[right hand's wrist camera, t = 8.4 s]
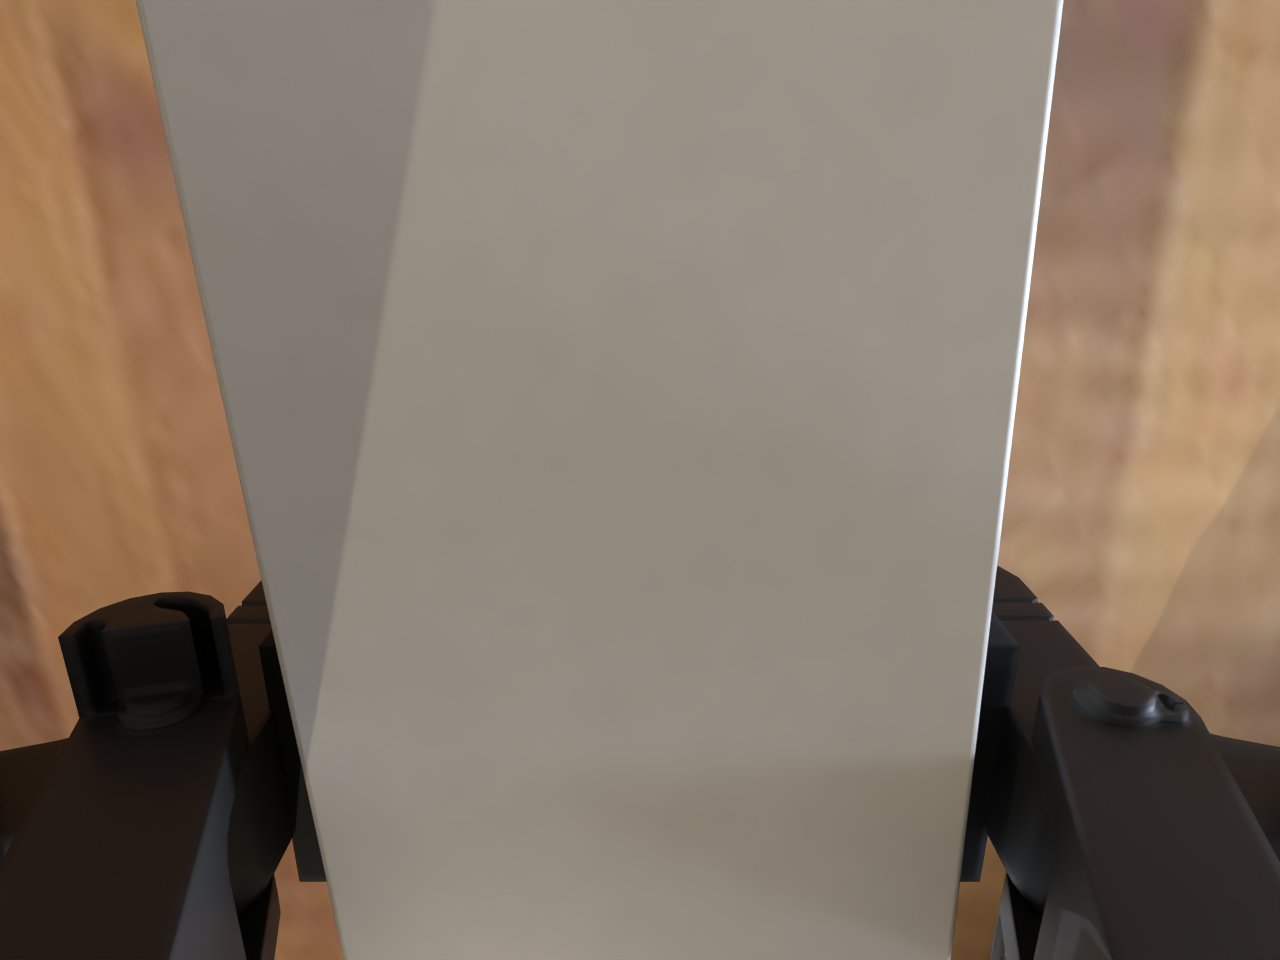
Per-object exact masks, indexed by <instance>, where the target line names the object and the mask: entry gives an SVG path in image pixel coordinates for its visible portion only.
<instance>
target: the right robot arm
mask: <svg viewBox="0 0 1280 960" xmlns="http://www.w3.org/2000/svg"><path fill="white" fill-rule="evenodd" d="M58 639H59V643H60V646H61V650H62V654H63V658H64V661H65V665H66V669H67V673H68V676H69V680H70V684H71V688H72V691H73V695H74V699H75V703H76V706H77V710H78V714H79V720H78V722H77V724H76V726H75V728H74V729H73V731H72V733H71V735H70V737H69V738H66V739H62V740H58V741H53V742H48V743H43V744H37V745H32V746H26V747H21V748H16V749H10V750H5V751H0V960H274V957H275V949H276V942H277V935H278V927H279V920H280V905H279V898H278V892H277V887H276V881H275V876H274V872H275V870H276V868H277V866H278V864H279V862H280V860H281V859H282V857H283V855H284V853H285V851H286V849H287V847H288V845H289V843H290V841H291V839H292V840H293V846H294V852H295V858H296V863H297V869H298V875H299V880H300V882H327V879H326V875H325V870H324V865H323V861H322V856H321V852H320V847H319V842H318V838H317V833H316V829H315V824H314V819H313V815H312V810H311V805H310V801H309V796H308V792H307V787H306V782H305V778H304V773H303V769H302V764H301V759H300V755H299V750H298V746H297V741H296V736H295V732H294V727H293V723H292V718H291V713H290V709H289V704H288V699H287V695H286V690H285V686H284V681H283V676H282V672H281V667H280V663H279V658H278V653H277V649H276V644H275V640H274V635H273V630H272V626H271V621H270V617H269V612H268V607H267V603H266V598H265V593H264V589H263V584H262V580H261V581H260V582H259V583H258V585H257V586H256V587H255V588H254V589H253V590H252V591H251V592H250V593H249V595H248V596H247V597H246V598H245V599H244V600H243V601H242V606H238V607H237V608H236V609H235V610H234V611H233V612H232V613H231V615H230V616H229V617H228V618H227V619H226V615H225V610H224V604H222V603H221V602H219V601H218V600H216V599H215V598H213V597H212V596H209V595H204V594H198V593H193V592H167V593H157V594H151V595H146V596H141V597H135V598H130V599H127V600H124V601H121V602H118V603H115V604H112V605H109V606H106V607H103V608H100V609H98V610H96V611H94V612H92V613H90V614H89V615H87V616H85V617H83V618H81V619H79V620H77V621H75V622H74V623H73V624H72V625H71V626H69V627H68V628H67V629H66V630H65V631H64V632H63V633H62V634H61V635H60V636H59V637H58ZM987 836H989V838H990V840H991V842H992V844H993V846H994V848H995V850H996V852H997V853H998V855H999V857H1000V859H1001V861H1002V863H1003V865H1004V867H1005V869H1006V876H1005V881H1004V887H1003V892H1002V897H1001V903H1000V908H999V913H998V919H997V924H996V929H995V935H994V940H993V945H992V951H991V957H990V960H1280V747H1275V746H1270V745H1264V744H1259V743H1254V742H1248V741H1243V740H1237V739H1232V738H1227V737H1222V736H1218V735H1213V734H1210V733H1209V732H1208V730H1207V728H1206V726H1205V724H1204V722H1203V721H1202V719H1201V717H1200V716H1199V715H1198V714H1197V712H1196V711H1195V710H1194V709H1193V708H1192V707H1191V706H1190V704H1189V703H1188V702H1187V701H1186V700H1185V699H1183V698H1181V697H1180V696H1178V695H1177V694H1175V693H1174V692H1172V691H1170V690H1169V689H1167V688H1166V687H1164V686H1163V685H1160V684H1158V683H1155V682H1153V681H1150V680H1148V679H1145V678H1143V677H1140V676H1138V675H1135V674H1133V673H1128V672H1124V671H1119V670H1115V669H1110V668H1106V667H1099V665H1098V664H1097V663H1096V662H1095V661H1094V660H1093V659H1092V658H1091V657H1090V656H1089V654H1088V653H1087V652H1086V651H1085V650H1084V649H1083V648H1082V647H1081V646H1080V645H1079V643H1078V642H1077V641H1076V640H1075V639H1074V638H1073V637H1072V636H1071V635H1070V634H1069V632H1068V631H1067V630H1066V629H1065V628H1064V627H1063V626H1062V625H1061V624H1060V622H1059V621H1054V616H1053V615H1052V614H1051V613H1050V611H1049V610H1048V609H1047V608H1046V607H1045V606H1044V605H1043V604H1042V603H1038V598H1037V597H1036V596H1035V595H1034V594H1033V593H1032V592H1031V591H1030V589H1029V588H1028V587H1027V586H1026V585H1025V584H1024V583H1023V582H1022V581H1021V580H1020V578H1019V577H1017V576H1015V575H1013V574H1011V573H1010V572H1008V571H1006V570H1004V569H1002V568H1001V567H999V566H997V570H996V579H995V587H994V596H993V604H992V613H991V621H990V630H989V638H988V647H987V655H986V664H985V672H984V681H983V689H982V698H981V706H980V715H979V724H978V732H977V741H976V749H975V758H974V766H973V775H972V783H971V792H970V800H969V809H968V817H967V826H966V834H965V843H964V851H963V860H962V868H961V877H960V882H980V876H981V871H982V865H983V859H984V853H985V848H986V842H987Z"/></svg>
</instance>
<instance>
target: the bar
mask: <svg viewBox="0 0 1280 960" xmlns="http://www.w3.org/2000/svg"><path fill="white" fill-rule="evenodd" d="M136 4H137V8H138V13H139V17H140V22H141V27H142V31H143V36H144V40H145V45H146V50H147V54H148V59H149V64H150V68H151V73H152V77H153V82H154V87H155V91H156V96H157V100H158V105H159V110H160V114H161V119H162V123H163V128H164V133H165V137H166V142H167V146H168V151H169V156H170V160H171V165H172V170H173V174H174V179H175V183H176V188H177V193H178V197H179V202H180V206H181V211H182V216H183V220H184V225H185V229H186V234H187V239H188V243H189V248H190V252H191V257H192V262H193V266H194V271H195V276H196V280H197V285H198V289H199V294H200V299H201V303H202V308H203V312H204V317H205V322H206V326H207V331H208V335H209V340H210V345H211V349H212V354H213V358H214V363H215V368H216V372H217V377H218V382H219V386H220V391H221V395H222V400H223V405H224V409H225V414H226V418H227V423H228V428H229V432H230V437H231V441H232V446H233V451H234V455H235V460H236V464H237V469H238V474H239V478H240V483H241V487H242V492H243V497H244V501H245V506H246V511H247V515H248V520H249V524H250V529H251V534H252V538H253V543H254V547H255V552H256V557H257V561H258V566H259V570H260V575H261V580H262V584H263V589H264V593H265V598H266V603H267V607H268V612H269V617H270V621H271V626H272V630H273V635H274V640H275V644H276V649H277V653H278V658H279V663H280V667H281V672H282V676H283V681H284V686H285V690H286V695H287V699H288V704H289V709H290V713H291V718H292V723H293V727H294V732H295V736H296V741H297V746H298V750H299V755H300V759H301V764H302V769H303V773H304V778H305V782H306V787H307V792H308V796H309V801H310V805H311V810H312V815H313V819H314V824H315V829H316V833H317V838H318V842H319V847H320V852H321V856H322V861H323V865H324V870H325V875H326V879H327V884H328V888H329V893H330V898H331V902H332V907H333V911H334V916H335V921H336V925H337V930H338V935H339V939H340V944H341V948H342V953H343V958H344V960H951V954H952V945H953V937H954V928H955V919H956V911H957V902H958V894H959V885H960V877H961V868H962V860H963V851H964V843H965V834H966V826H967V817H968V809H969V800H970V792H971V783H972V775H973V766H974V758H975V749H976V741H977V732H978V724H979V715H980V706H981V698H982V689H983V681H984V672H985V664H986V655H987V647H988V638H989V630H990V621H991V613H992V604H993V596H994V587H995V579H996V570H997V562H998V553H999V545H1000V536H1001V528H1002V519H1003V511H1004V502H1005V493H1006V485H1007V476H1008V468H1009V459H1010V451H1011V442H1012V434H1013V425H1014V417H1015V408H1016V400H1017V391H1018V383H1019V374H1020V366H1021V357H1022V349H1023V340H1024V332H1025V323H1026V315H1027V306H1028V298H1029V289H1030V280H1031V272H1032V263H1033V255H1034V246H1035V238H1036V229H1037V221H1038V212H1039V204H1040V195H1041V187H1042V178H1043V170H1044V161H1045V153H1046V144H1047V136H1048V127H1049V119H1050V110H1051V102H1052V93H1053V85H1054V76H1055V68H1056V59H1057V50H1058V42H1059V33H1060V25H1061V16H1062V8H1063V0H136Z"/></svg>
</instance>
